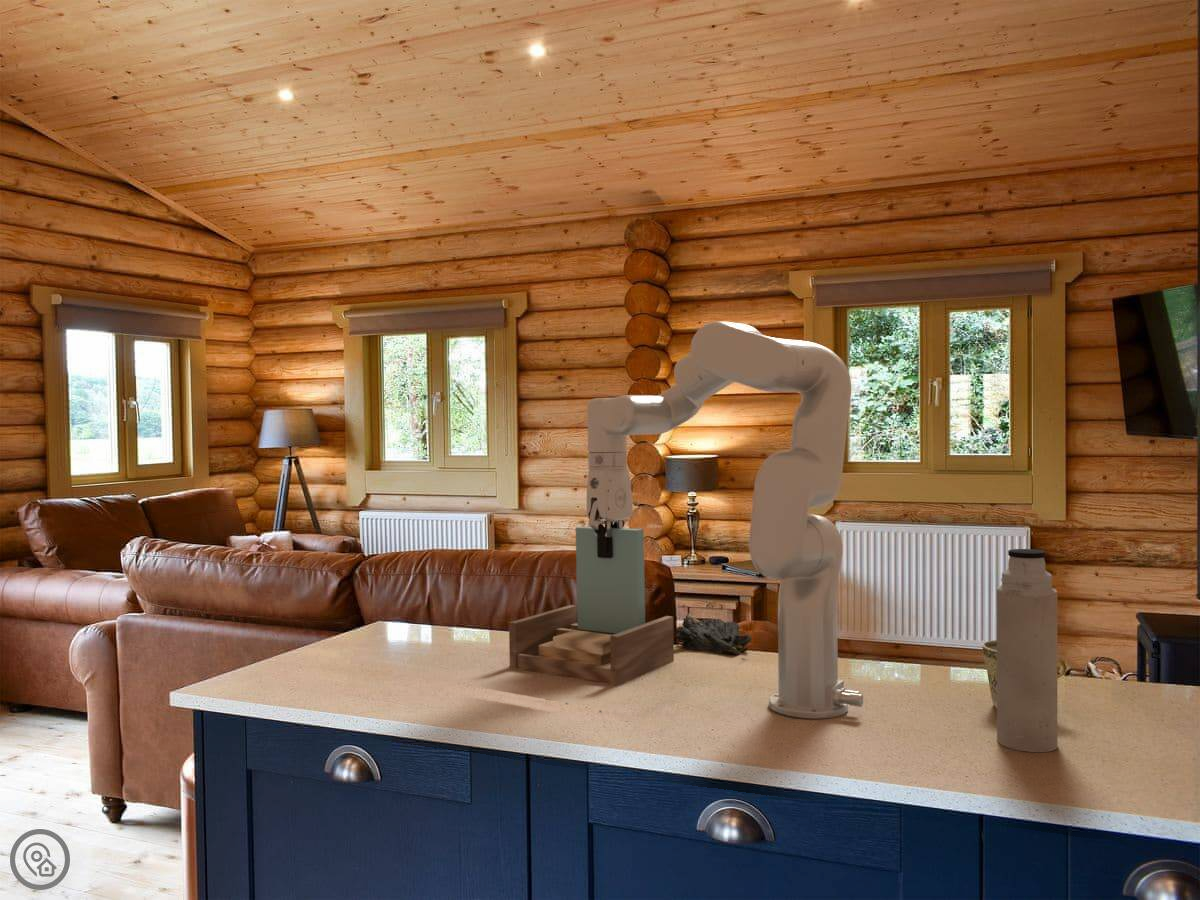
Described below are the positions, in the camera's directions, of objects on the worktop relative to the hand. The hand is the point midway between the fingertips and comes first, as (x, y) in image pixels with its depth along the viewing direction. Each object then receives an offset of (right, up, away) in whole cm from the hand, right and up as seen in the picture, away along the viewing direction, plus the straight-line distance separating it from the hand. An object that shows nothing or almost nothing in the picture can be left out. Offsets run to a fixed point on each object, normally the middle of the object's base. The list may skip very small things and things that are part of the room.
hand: (609, 555), depth 183 cm
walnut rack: (-3, -22, -4) cm, 22 cm away
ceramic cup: (+67, -22, -31) cm, 77 cm away
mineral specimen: (+21, -21, +8) cm, 31 cm away
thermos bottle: (+60, -22, -47) cm, 79 cm away
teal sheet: (0, -15, 0) cm, 15 cm away
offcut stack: (-5, -20, -7) cm, 22 cm away
